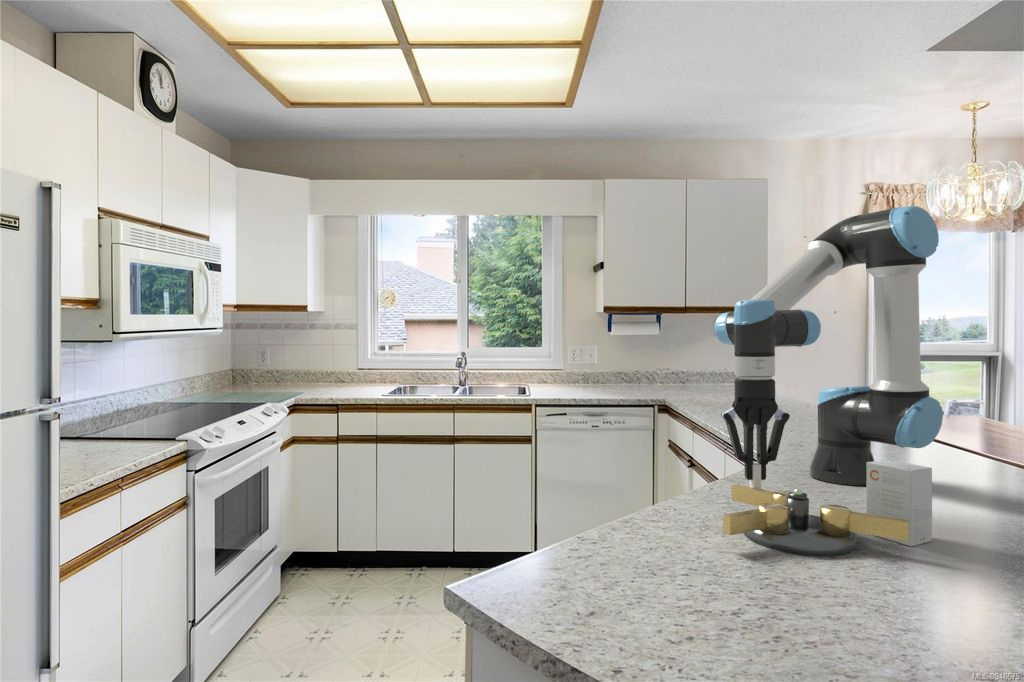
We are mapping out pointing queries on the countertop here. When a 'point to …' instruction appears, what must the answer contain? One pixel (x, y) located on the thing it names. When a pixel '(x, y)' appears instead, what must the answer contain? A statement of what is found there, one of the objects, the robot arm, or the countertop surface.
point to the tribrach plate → (804, 533)
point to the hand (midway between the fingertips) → (755, 495)
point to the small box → (901, 496)
